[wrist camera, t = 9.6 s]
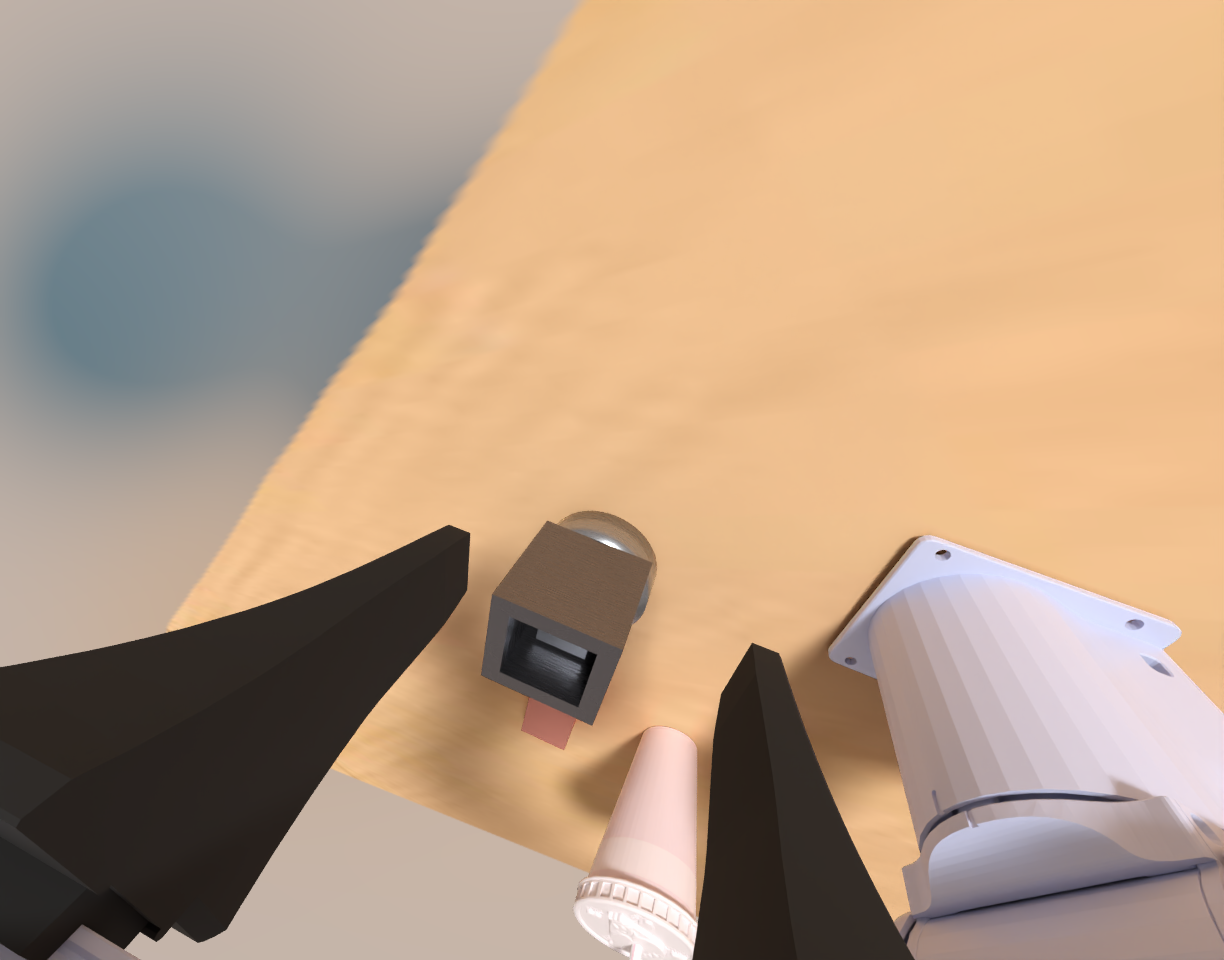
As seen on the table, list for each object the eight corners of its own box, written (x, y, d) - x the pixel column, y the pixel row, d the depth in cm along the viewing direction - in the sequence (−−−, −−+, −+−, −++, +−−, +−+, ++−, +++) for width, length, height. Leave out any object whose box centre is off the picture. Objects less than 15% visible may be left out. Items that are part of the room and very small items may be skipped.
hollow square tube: (652, 562, 20) (623, 650, 16) (623, 635, 23) (592, 725, 19) (547, 520, 21) (492, 594, 16) (531, 596, 23) (481, 675, 19)
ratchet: (592, 731, 32) (565, 810, 27) (516, 696, 32) (477, 768, 28) (671, 537, 22) (648, 613, 17) (559, 494, 23) (510, 556, 18)
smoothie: (647, 774, 32) (579, 1086, 20) (606, 714, 30) (505, 1021, 18) (733, 775, 29) (711, 1139, 17) (694, 709, 27) (640, 1070, 15)
